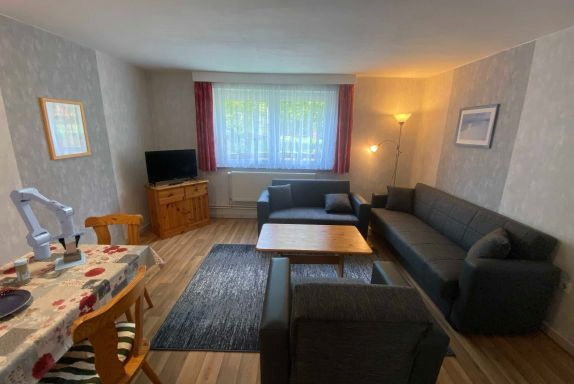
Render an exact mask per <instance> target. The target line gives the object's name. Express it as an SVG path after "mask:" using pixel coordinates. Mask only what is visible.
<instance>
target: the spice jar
mask: <svg viewBox="0 0 574 384" xmlns="http://www.w3.org/2000/svg"><path fill="white" fill-rule="evenodd" d="M27 259H28V258H19V259H15V260H14V261H13V266H14V269H15V274H16V279H17V282H18V287H26V286H28V285H30V283H31V275H30V271H29V268H28V267H29V266H28V260H27Z"/></svg>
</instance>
